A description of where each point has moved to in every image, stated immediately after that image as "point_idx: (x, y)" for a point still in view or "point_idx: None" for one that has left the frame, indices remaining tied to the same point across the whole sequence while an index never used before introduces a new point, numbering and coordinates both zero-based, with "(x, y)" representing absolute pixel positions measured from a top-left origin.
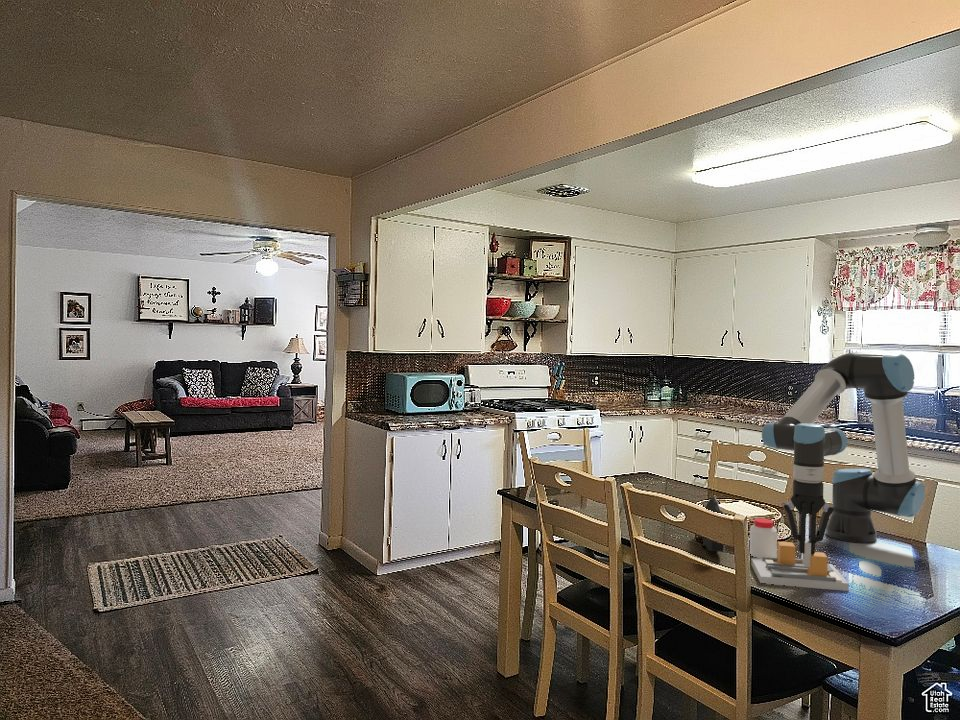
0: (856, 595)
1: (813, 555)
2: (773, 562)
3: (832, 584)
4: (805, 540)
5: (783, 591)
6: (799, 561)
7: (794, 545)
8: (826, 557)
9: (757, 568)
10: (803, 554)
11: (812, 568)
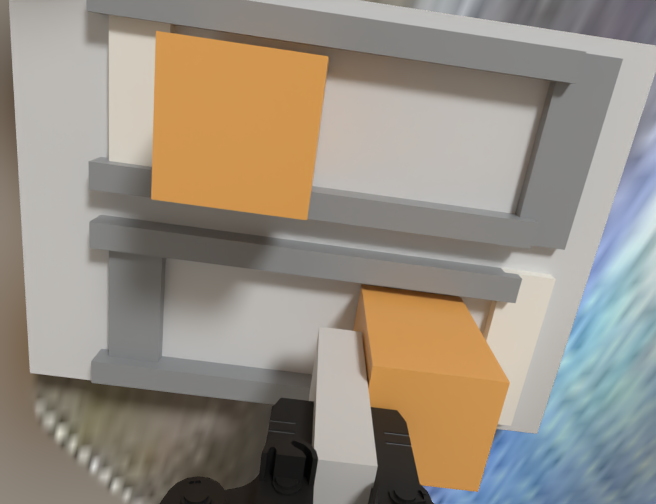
0: (527, 455)
1: None
2: None
3: None
4: (339, 468)
5: (158, 441)
6: (393, 57)
7: (310, 183)
8: (468, 486)
9: (27, 223)
10: (313, 397)
11: None
